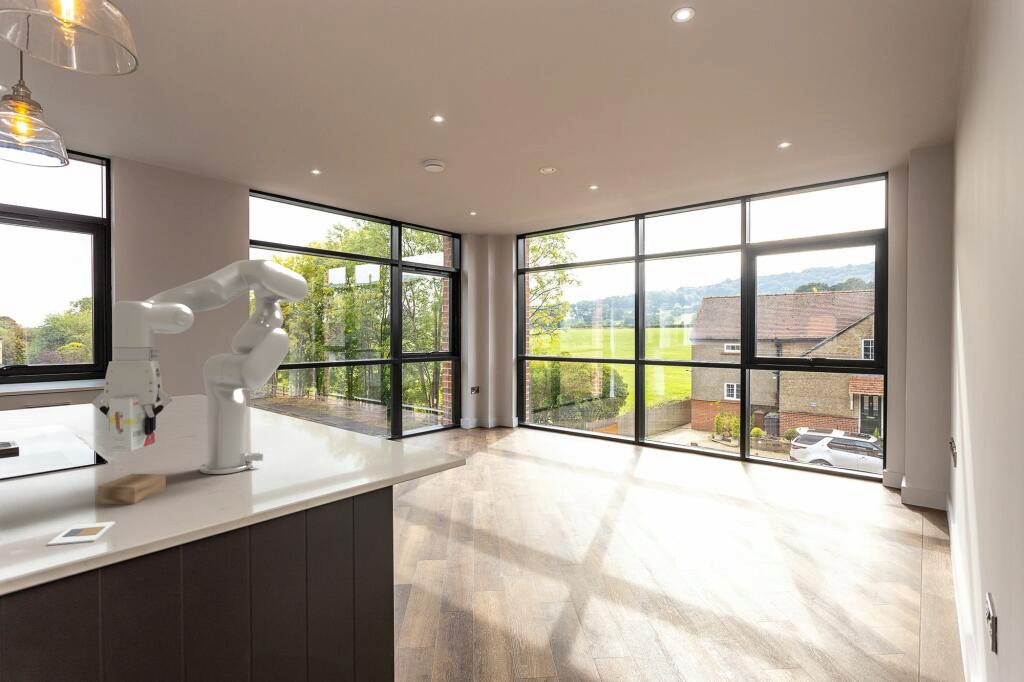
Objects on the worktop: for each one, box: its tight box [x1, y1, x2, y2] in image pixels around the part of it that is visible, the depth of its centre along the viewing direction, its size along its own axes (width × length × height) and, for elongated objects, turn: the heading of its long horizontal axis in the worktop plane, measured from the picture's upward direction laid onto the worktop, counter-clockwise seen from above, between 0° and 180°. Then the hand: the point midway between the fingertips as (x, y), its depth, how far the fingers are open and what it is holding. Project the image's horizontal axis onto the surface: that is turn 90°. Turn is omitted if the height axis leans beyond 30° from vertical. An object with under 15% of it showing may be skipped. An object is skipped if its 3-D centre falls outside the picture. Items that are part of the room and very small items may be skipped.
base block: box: [97, 473, 167, 505], centre depth 117 cm, size 8×10×4 cm
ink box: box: [108, 397, 156, 452], centre depth 117 cm, size 9×5×12 cm, turn 3°
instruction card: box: [46, 520, 117, 546], centre depth 96 cm, size 7×9×1 cm
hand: (132, 433), depth 117 cm, fingers closed on ink box, 5 cm apart
